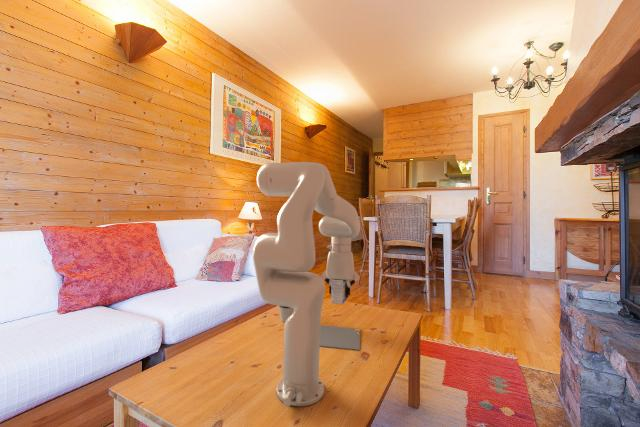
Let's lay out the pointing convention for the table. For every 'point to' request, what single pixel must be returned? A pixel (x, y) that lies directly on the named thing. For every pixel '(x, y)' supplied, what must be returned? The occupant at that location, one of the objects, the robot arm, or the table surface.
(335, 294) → the medicine box
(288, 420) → the table surface
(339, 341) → the mat
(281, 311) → the house plant
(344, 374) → the table surface
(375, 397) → the table surface
